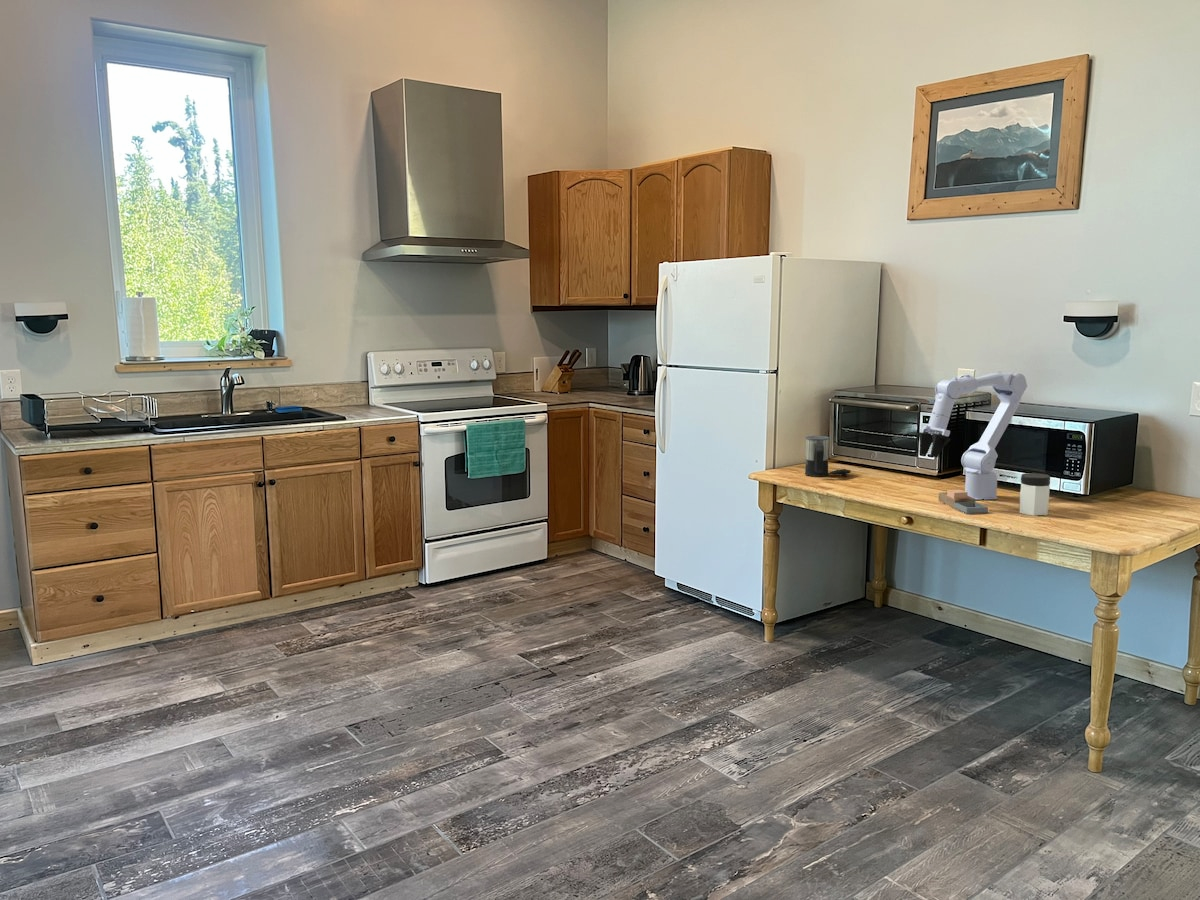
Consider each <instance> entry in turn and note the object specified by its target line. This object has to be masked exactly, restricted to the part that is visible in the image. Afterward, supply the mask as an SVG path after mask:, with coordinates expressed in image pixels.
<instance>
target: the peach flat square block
mask: <svg viewBox="0 0 1200 900" xmlns="http://www.w3.org/2000/svg"><path fill="white" fill-rule="evenodd" d="M946 492H947V496H948V497H951V498H953V499H964V498H967V495H968V492H966V491H965V490H964V489H959V488H958V489H947V490H946Z"/></svg>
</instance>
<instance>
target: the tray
mask: <svg viewBox="0 0 1200 900" xmlns="http://www.w3.org/2000/svg"><path fill="white" fill-rule="evenodd" d="M954 508H955V509H954ZM954 508H953V509H954V510H956V509H957V510H956V511H958V510H960V511H959V512H961V511H962V512H961V513H963V512H964V513H963V514H965V513H966V514H965V515H976V514H975V513H982V514H988V512H989V507H988V506H986V505H984V504H981V503H980V502H977V501H975V502H958V503H955V506H954Z"/></svg>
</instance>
